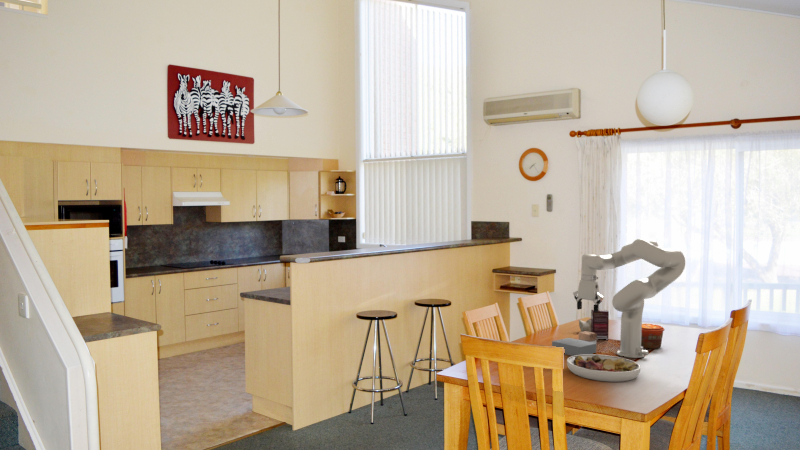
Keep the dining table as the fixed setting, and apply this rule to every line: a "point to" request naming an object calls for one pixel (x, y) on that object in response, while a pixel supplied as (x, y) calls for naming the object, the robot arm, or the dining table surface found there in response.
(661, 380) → the dining table surface
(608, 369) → the bowl
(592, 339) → the housing
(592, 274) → the robot arm
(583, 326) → the ceramic sculpture
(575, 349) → the stand
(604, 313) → the supplement box
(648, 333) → the food container
